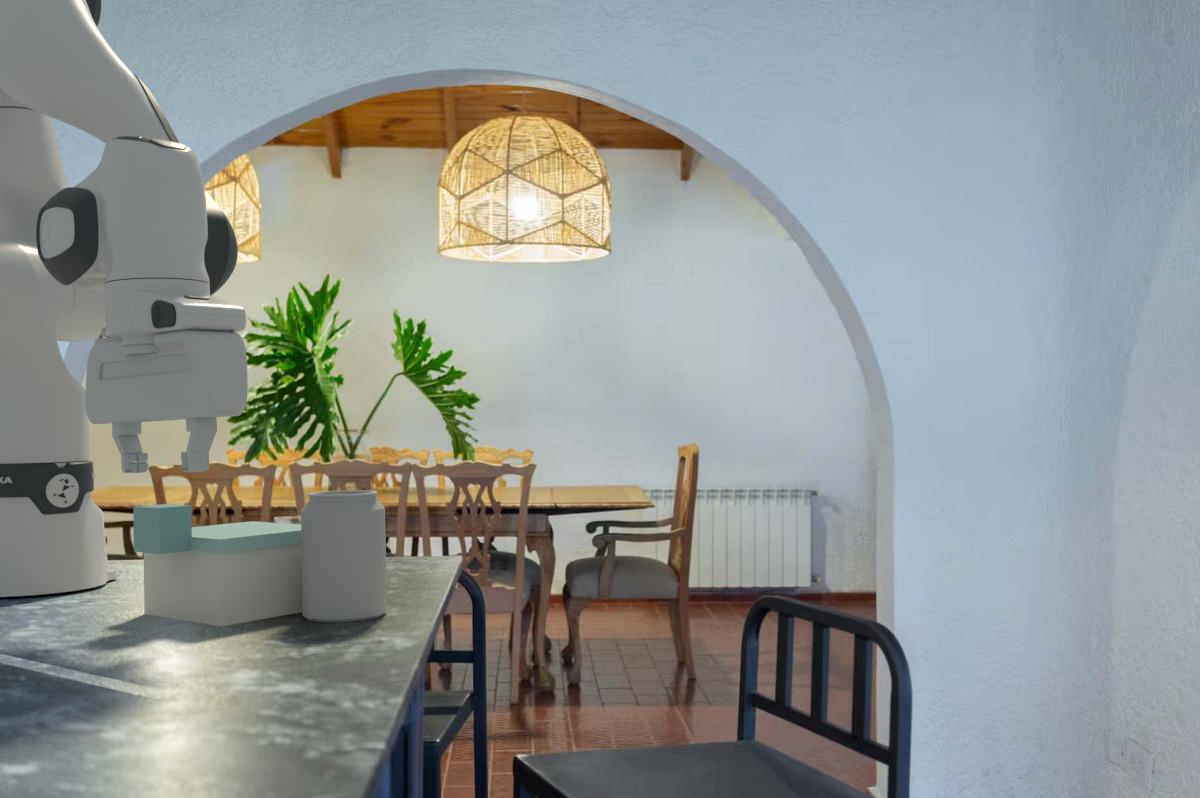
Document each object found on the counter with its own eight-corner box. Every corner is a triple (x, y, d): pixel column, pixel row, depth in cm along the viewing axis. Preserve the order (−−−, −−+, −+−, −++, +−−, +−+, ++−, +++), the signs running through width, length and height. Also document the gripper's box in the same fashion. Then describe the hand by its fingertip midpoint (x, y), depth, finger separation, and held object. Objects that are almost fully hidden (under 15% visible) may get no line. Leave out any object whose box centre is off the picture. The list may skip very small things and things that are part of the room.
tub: (144, 620, 109) (143, 545, 109) (252, 602, 118) (251, 533, 118) (221, 633, 102) (220, 552, 102) (330, 612, 111) (329, 539, 111)
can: (402, 617, 108) (400, 488, 108) (353, 632, 101) (351, 493, 101) (337, 613, 111) (335, 487, 111) (284, 626, 104) (282, 492, 104)
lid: (107, 559, 106) (107, 504, 106) (252, 542, 119) (251, 493, 119) (188, 568, 99) (188, 509, 99) (333, 549, 111) (333, 497, 111)
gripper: (64, 325, 108) (69, 475, 107) (193, 304, 95) (199, 473, 95) (127, 328, 113) (132, 471, 112) (258, 308, 100) (264, 469, 100)
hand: (164, 472), depth 104 cm, fingers open, 8 cm apart
